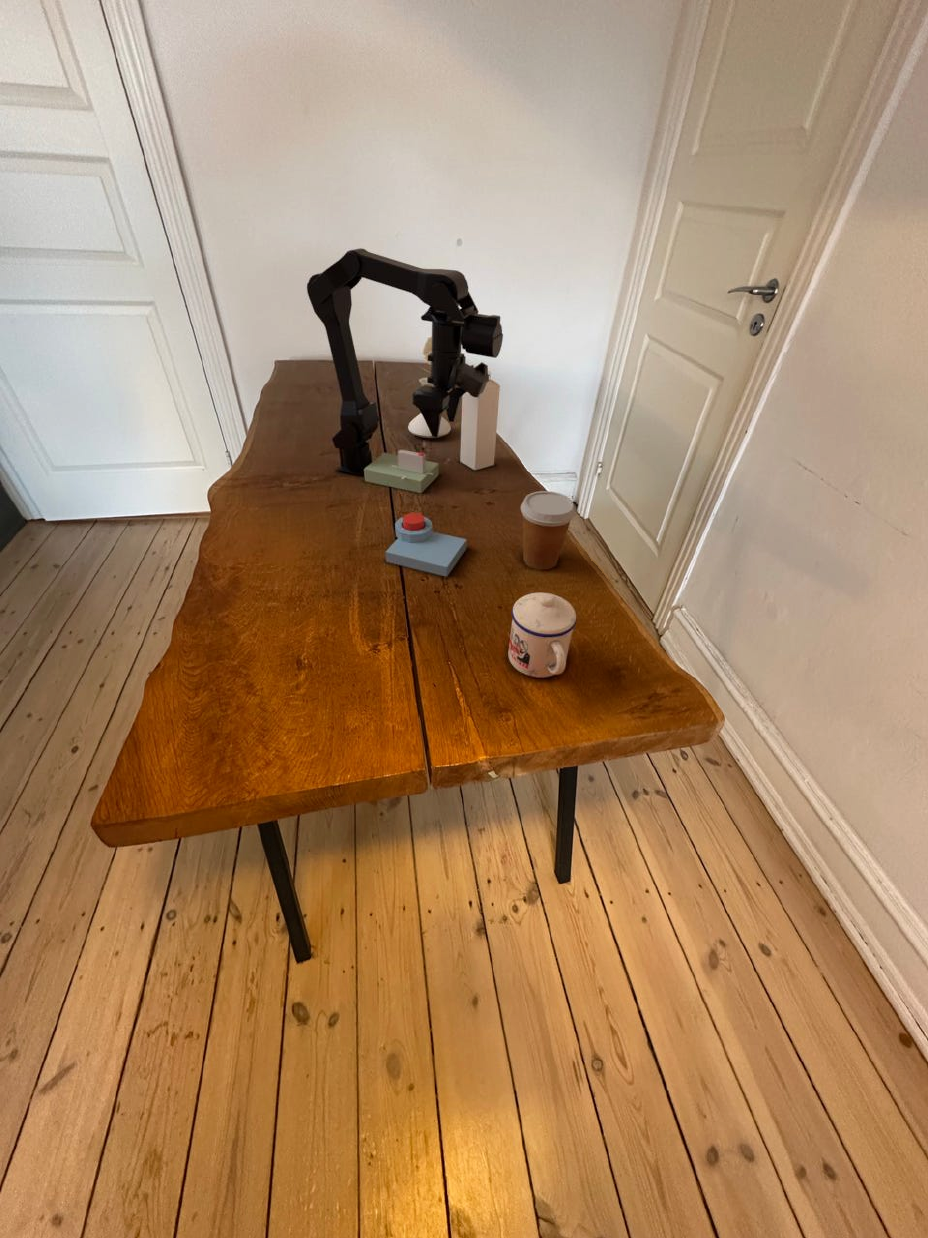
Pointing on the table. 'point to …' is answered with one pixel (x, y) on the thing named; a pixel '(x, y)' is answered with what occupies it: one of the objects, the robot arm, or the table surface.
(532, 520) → the disposable coffee cup
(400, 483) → the panel
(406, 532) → the button block
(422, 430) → the flower in vase
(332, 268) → the robot arm
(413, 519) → the button
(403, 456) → the tap handle
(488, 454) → the milk
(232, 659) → the table surface
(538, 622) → the teacup with lid
